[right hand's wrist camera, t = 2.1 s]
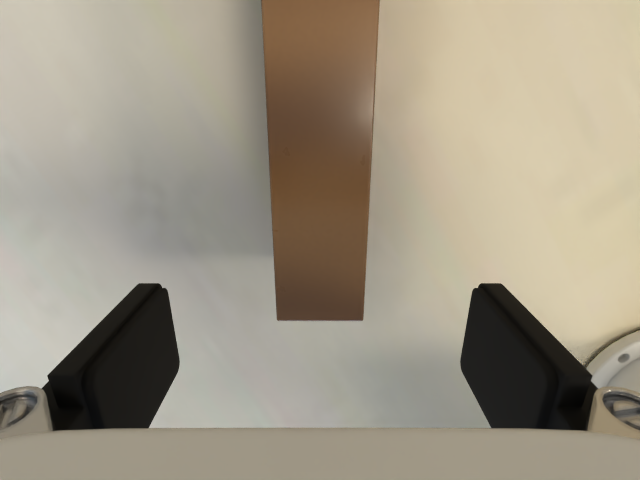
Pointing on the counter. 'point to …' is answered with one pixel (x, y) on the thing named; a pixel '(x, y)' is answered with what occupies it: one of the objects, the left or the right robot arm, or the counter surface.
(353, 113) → the bar
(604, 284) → the counter surface
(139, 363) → the right robot arm
